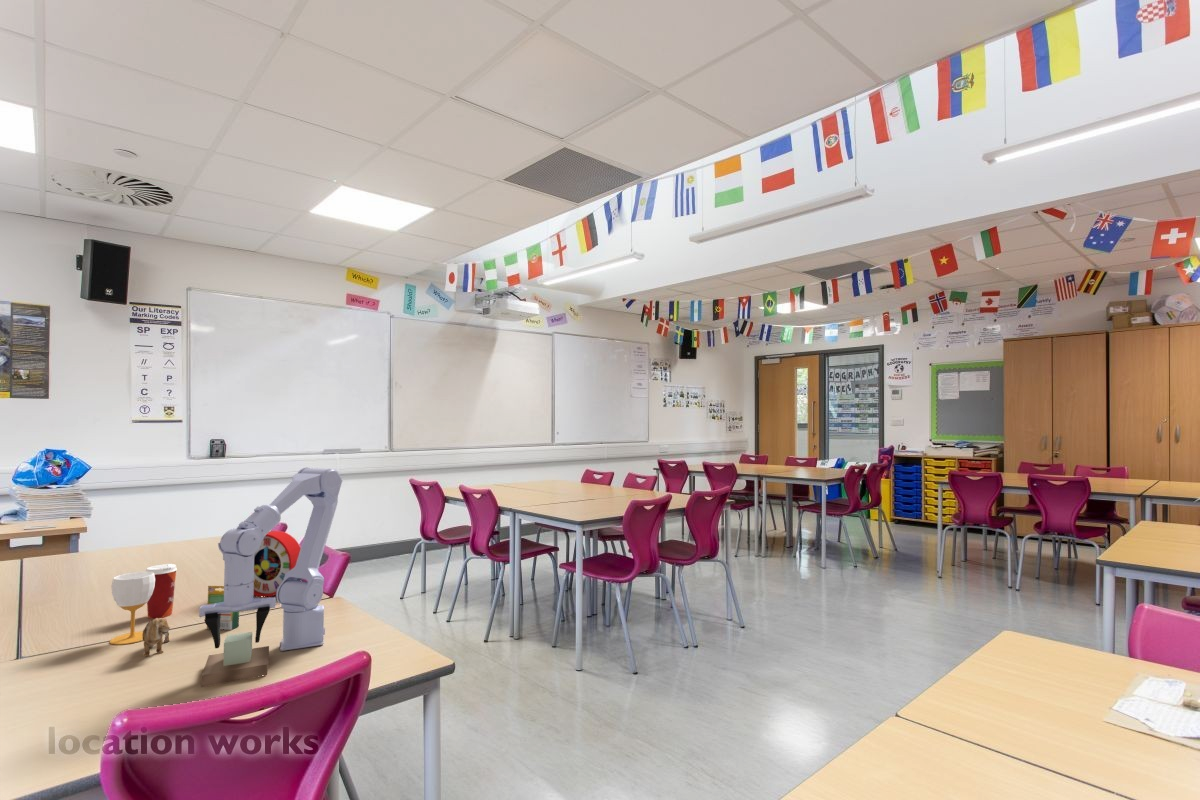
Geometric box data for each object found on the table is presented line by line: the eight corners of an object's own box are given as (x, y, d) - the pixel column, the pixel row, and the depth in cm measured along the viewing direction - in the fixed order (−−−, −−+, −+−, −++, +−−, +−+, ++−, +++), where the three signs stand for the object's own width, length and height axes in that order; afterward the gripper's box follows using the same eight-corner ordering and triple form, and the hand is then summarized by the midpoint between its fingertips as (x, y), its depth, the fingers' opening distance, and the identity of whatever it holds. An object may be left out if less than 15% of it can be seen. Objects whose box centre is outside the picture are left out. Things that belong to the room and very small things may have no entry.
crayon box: (239, 626, 160) (240, 583, 161) (231, 630, 157) (232, 586, 158) (214, 625, 161) (215, 582, 162) (206, 629, 158) (207, 585, 159)
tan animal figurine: (169, 656, 140) (170, 618, 140) (141, 662, 136) (142, 623, 137) (170, 638, 151) (170, 603, 152) (143, 643, 148) (144, 607, 149)
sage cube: (251, 653, 135) (252, 631, 135) (249, 661, 130) (250, 639, 131) (226, 657, 133) (226, 635, 133) (223, 666, 128) (223, 642, 128)
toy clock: (235, 595, 189) (236, 533, 190) (249, 590, 195) (250, 529, 195) (291, 598, 186) (292, 534, 186) (303, 593, 191) (304, 531, 192)
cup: (102, 641, 150) (104, 577, 150) (143, 630, 158) (144, 569, 158) (120, 647, 145) (122, 581, 146) (161, 635, 153) (163, 573, 154)
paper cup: (181, 614, 171) (182, 565, 171) (150, 621, 164) (151, 571, 165) (169, 609, 175) (170, 562, 175) (138, 616, 168) (139, 567, 169)
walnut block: (268, 658, 140) (269, 645, 140) (266, 678, 129) (267, 664, 129) (208, 668, 134) (208, 655, 134) (201, 689, 123) (201, 675, 124)
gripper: (197, 591, 126) (195, 655, 125) (274, 583, 132) (273, 644, 131) (203, 583, 132) (201, 644, 131) (276, 575, 138) (275, 634, 138)
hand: (237, 643), depth 132 cm, fingers open, 7 cm apart
